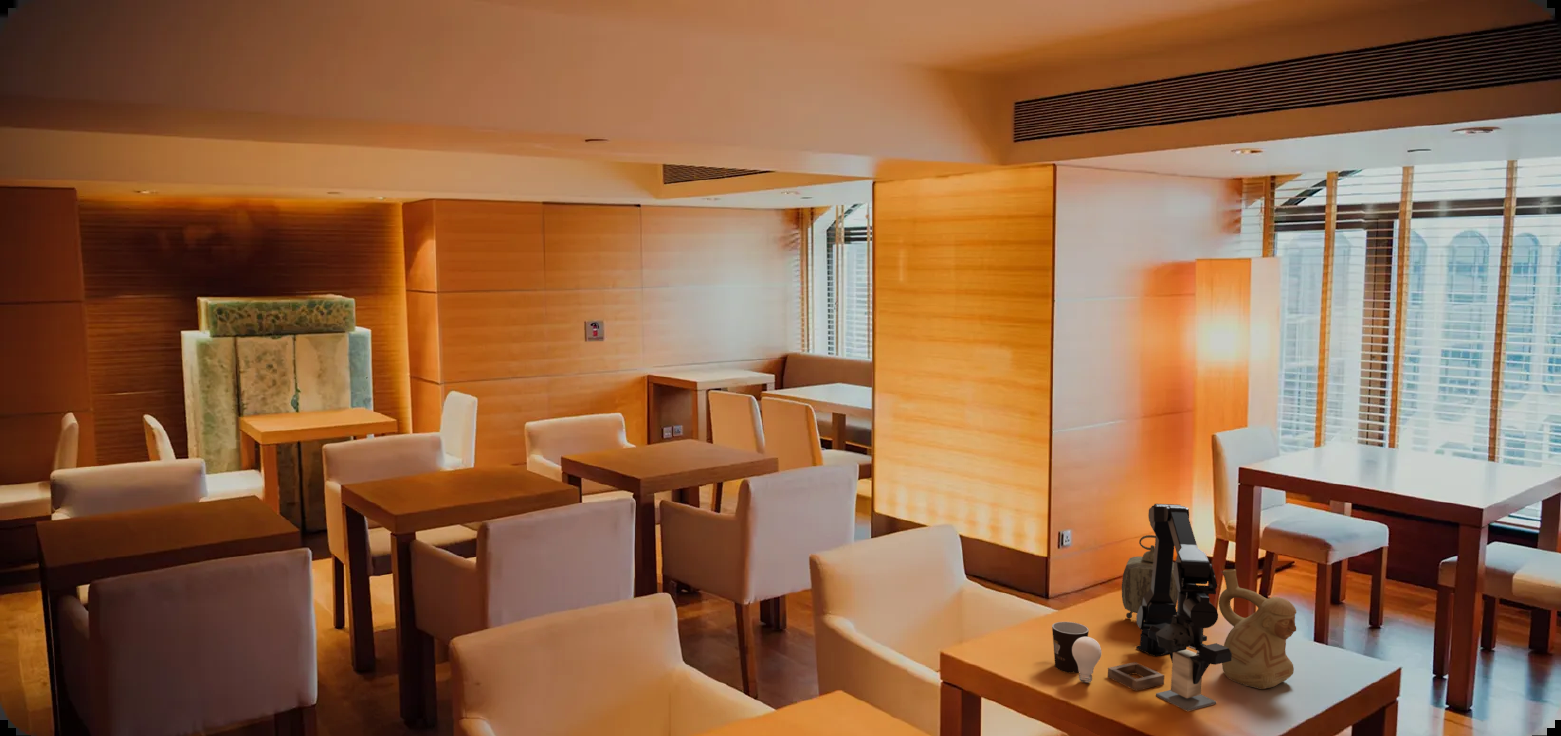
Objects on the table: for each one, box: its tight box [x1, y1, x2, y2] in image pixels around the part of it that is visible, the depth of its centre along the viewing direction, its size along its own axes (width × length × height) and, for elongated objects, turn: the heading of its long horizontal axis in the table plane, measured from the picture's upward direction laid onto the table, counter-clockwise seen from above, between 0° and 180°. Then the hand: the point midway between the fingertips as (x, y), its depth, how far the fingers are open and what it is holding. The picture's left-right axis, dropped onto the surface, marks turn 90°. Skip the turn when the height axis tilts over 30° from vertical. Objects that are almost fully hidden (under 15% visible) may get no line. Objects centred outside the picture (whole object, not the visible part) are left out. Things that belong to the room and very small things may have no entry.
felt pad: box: [1155, 689, 1217, 712], centre depth 231 cm, size 9×9×1 cm
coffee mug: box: [1051, 621, 1090, 674], centre depth 250 cm, size 12×9×10 cm
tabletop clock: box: [1121, 534, 1178, 619], centre depth 279 cm, size 14×9×25 cm, turn 66°
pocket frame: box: [1107, 661, 1165, 691], centre depth 242 cm, size 9×9×2 cm
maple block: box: [1170, 648, 1203, 698], centre depth 231 cm, size 4×4×9 cm
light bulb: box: [1072, 636, 1102, 684], centre depth 239 cm, size 7×7×11 cm
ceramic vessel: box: [1218, 568, 1297, 690], centre depth 243 cm, size 17×20×25 cm
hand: (1186, 679), depth 231 cm, fingers closed on maple block, 4 cm apart
